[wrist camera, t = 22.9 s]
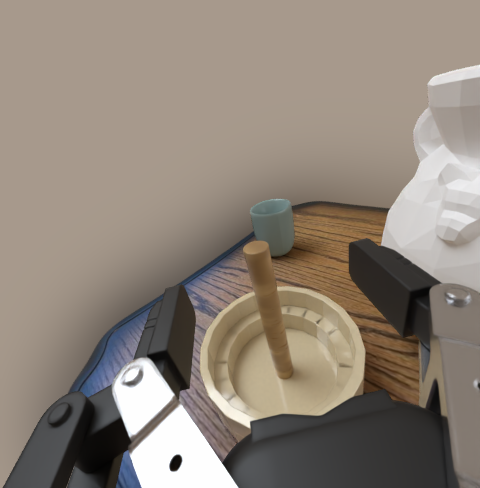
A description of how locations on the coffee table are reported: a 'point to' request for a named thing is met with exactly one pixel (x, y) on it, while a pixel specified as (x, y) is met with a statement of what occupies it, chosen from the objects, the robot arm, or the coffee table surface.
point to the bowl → (261, 366)
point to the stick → (269, 305)
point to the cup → (274, 225)
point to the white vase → (443, 185)
